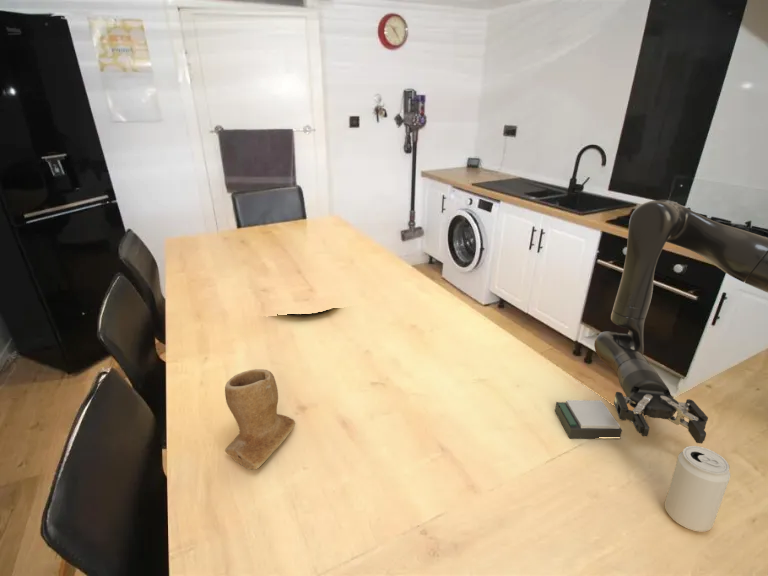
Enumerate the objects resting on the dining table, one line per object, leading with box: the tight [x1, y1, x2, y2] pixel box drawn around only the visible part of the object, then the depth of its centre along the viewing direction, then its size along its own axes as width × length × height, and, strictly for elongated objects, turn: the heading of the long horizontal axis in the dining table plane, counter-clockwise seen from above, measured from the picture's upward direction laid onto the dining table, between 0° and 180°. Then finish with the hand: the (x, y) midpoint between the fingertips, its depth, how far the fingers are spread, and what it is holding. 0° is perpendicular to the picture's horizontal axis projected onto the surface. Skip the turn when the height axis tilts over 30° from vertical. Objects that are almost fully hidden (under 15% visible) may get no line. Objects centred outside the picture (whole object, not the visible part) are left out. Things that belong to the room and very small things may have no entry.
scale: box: [554, 399, 623, 440], centre depth 87 cm, size 10×9×3 cm
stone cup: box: [224, 368, 296, 470], centre depth 82 cm, size 15×12×15 cm
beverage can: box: [664, 445, 731, 533], centre depth 64 cm, size 6×6×12 cm
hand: (673, 436), depth 72 cm, fingers open, 8 cm apart
